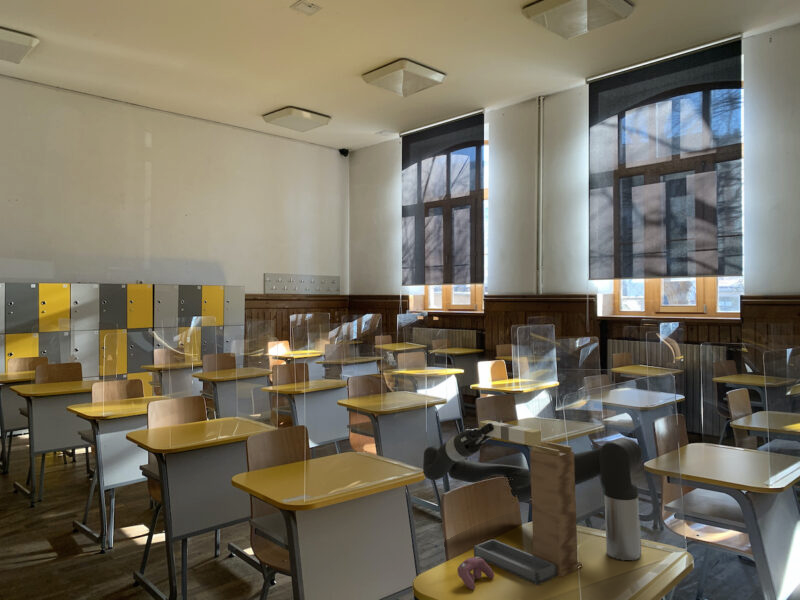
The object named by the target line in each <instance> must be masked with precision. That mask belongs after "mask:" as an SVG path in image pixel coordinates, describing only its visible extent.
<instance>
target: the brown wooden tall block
mask: <svg viewBox="0 0 800 600" xmlns="http://www.w3.org/2000/svg"><path fill="white" fill-rule="evenodd" d="M574 454H575V452H574V451H573V447H572V446H569V445H564V444H559V443H555V442H550V441H544V442H543V446H541V445H534V446H531V450H530V451H529V459H530V460H529V464H530V474H531V497H532V499H531V520H532V545H533V547H532V548H533V550H532V551H533V552H532V555H534V556H536V557H539V558H541V559H544V560H546V561H549V562H551V563H554V564H556V565H557V576H559V577H561V578H562V577H565V576H566V575H568V574H570V573H573V572H575V571H577V570H578V569H577V568H578V567H579V566H582V567H583V563H582V562H580V561H579V558H578V557H579V556H578V555H579V554H578V533H577V505H576V504H577V502H576V501H577V500H576V499H577V498H576V485H575V469H574ZM576 569H577V570H576Z"/></svg>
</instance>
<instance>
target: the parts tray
mask: <svg viewBox="0 0 800 600" xmlns="http://www.w3.org/2000/svg"><path fill="white" fill-rule="evenodd" d="M473 554H474V555H473V557H481V558H482V559H484V561H485V562H486V563H487V564H490V565H493V566H495V567H496V568H499V569H501V570H503V571H505V572H507V573H510V574H512V575H514V576H517V577H519V578H521V579H523V580H525V581H528V582H530V583H532V584H534V585H536V586H540V585H541V584H543V583H545V582H547V581H549V580H552V579H554V578H555V577H558V575H557V565H556V564H554V563H551V562H549V561H546V560H544V559H541V558H539V557H536V556H534V554H531V553H529V552H526V551H524V550H521V549H518V548H516V547H514V546H512V545H508V544H507V543H504V542H501V541H499V540H497V539H494V538H492V539H489V540H487V541H484V542H482V543H478V544H476V545H474V546H473Z"/></svg>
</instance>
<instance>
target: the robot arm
mask: <svg viewBox="0 0 800 600" xmlns="http://www.w3.org/2000/svg"><path fill="white" fill-rule="evenodd" d="M497 422H500V423H504V422H503V420H498V421H497ZM493 430H494V427H493V425H492V423H488V424H487V425H485V426H484V427H479V428H473V429H472V428H471V429H470V428H466V429H464V430H462V431H460V432H459V433H457V434H456V435H454V436H453V437H451V438H450V439H449V440H448V441H446V442H444V443H443V444H442V445H440V446H435V445H432V446H428V447H426V448H425V449H424V452H423V464H422V465H423V466H422V467H423V468H422V472H423V475H424V477H425V478H426V479H428V480H431V481H436V480H437V481H439V480H441V479H442V478H443V477H445V476H446V475H447V474H448V476H449V477H450V478H451V479H453V480H457V481H462V482H466V483H478V482H481V481H483V480H485V479H488V478H491V477H493V476H502V477H503V478H504V477H507V478H508V480H509V481H508V482H509V485H510V487H511V488H512V489H511V493H512V495H513V496H514V497H516V495H517V498H518V500H519V503H524V502H527V501H532V497H531V470H529V469H527V468H526V467H524V466H523V467H522V466H516V465H510V464H509V465H508V464H499V463H498V464H497V463H487V462H486V463H485V462H478V461H473V460H470V459H467V458H469V457H471V456H472V455H474V454H476V453H478V452H479V451H480V450H481V448H482V444H483V443H485V442H486V441H487V440H489V439H494V438H495V437H491V436H486V435H485V434H488V433H489V432H491V431H493ZM642 458H643V450H642V447H641V446H640V445H639V443H637V442H636V441H635V440H633V439H630V438H626V437H619V438H616V439H614V440H610V441H608V442H606V443H603V445H602V446H601V447H597V448H596V449H593V450H592V449H591V450H588V451H582V452H581V451H580V452H575V453H574V469H575V486H578V485H580V484H583V483H586V482H587V481H590V480H593V479H594V478H597V477H598V476H600V481H601V485H602V488H603V491H604V516H605V517H604V519H605V522H604V523H605V546H606V547H605V548H606V554H607V555H608V557H610V556H611V558H612V557H613V558H612V559H614V558H617V559H616V560H618V559H621V560H620V561H624V560H632V561H637V560H639V559H640V558H641V554H642V535H641V533H642V532H641V529H642V528H641V520H640V513H639V511H640V510H639V509H640V508H639V488H638V487H637V485H636V484H634V483H632V478H631V475H632V474H631V470H634V469H635V468H637V466H639V464H640V463H641V461H642ZM510 477H511V478H510ZM510 479H511V480H510ZM512 479H513V480H512Z"/></svg>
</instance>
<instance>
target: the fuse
mask: <svg viewBox="0 0 800 600" xmlns="http://www.w3.org/2000/svg"><path fill="white" fill-rule="evenodd" d="M488 423H492V425H493V427H494V430H493V431H491V432H489V433H488V434H485V435H486V436H491V438H492V437H494V438H495V439H500V440H504V441H508V442H514V443H517V444H522V445H527V446H531V447H532V446H534V445H537V446H539V445H542V430H541V429H535V428H530V427H526V426H519V425H516V424H511V423H505V422H503V423H500V422H498V421H493V420H490V419H486V420H482V421H479V423H478V425H479V428H480V427H484V426H485V425H487V424H488Z"/></svg>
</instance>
